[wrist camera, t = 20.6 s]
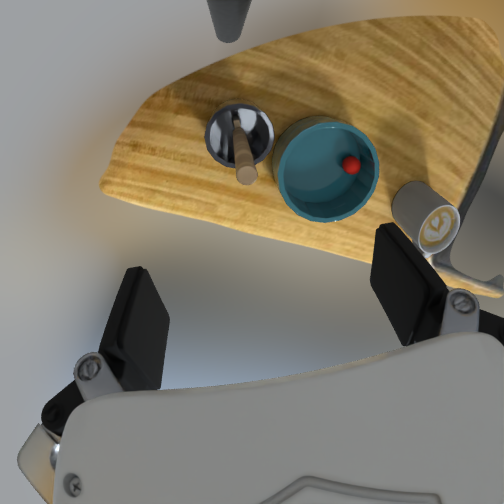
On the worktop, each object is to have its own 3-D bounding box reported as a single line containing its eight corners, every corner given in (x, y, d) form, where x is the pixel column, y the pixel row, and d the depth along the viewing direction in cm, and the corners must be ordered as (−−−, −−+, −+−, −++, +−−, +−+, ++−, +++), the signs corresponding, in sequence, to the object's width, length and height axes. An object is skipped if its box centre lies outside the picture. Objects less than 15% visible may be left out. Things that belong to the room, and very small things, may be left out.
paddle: (229, 116, 38) (232, 155, 20) (240, 114, 38) (253, 151, 20) (234, 139, 40) (240, 198, 22) (244, 137, 40) (261, 195, 22)
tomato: (338, 166, 41) (347, 150, 40) (339, 169, 44) (348, 154, 43) (354, 176, 41) (364, 161, 40) (355, 179, 43) (364, 164, 42)
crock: (204, 104, 37) (198, 111, 30) (260, 94, 37) (268, 98, 29) (215, 155, 42) (212, 174, 34) (268, 145, 41) (278, 162, 34)
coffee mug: (398, 178, 46) (428, 203, 38) (435, 183, 46) (466, 206, 38) (382, 240, 53) (405, 270, 45) (418, 239, 54) (442, 267, 46)
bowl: (265, 121, 39) (271, 128, 34) (361, 113, 39) (379, 119, 34) (277, 211, 48) (284, 229, 43) (362, 199, 48) (376, 214, 43)
